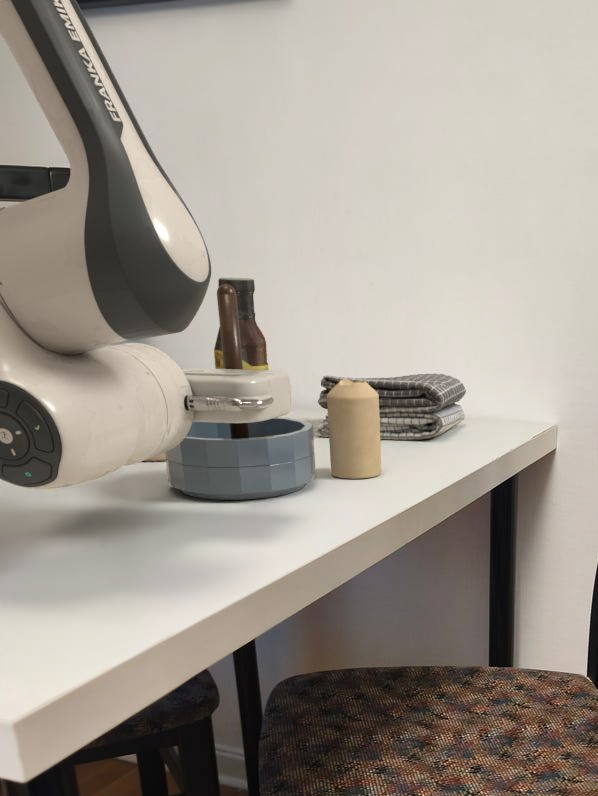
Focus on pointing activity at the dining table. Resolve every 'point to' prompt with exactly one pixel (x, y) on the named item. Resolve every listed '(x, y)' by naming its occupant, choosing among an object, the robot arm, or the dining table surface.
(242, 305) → the sauce bottle
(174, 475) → the bowl
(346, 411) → the candle
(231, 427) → the brown wooden pestle
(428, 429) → the towel
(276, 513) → the dining table surface
